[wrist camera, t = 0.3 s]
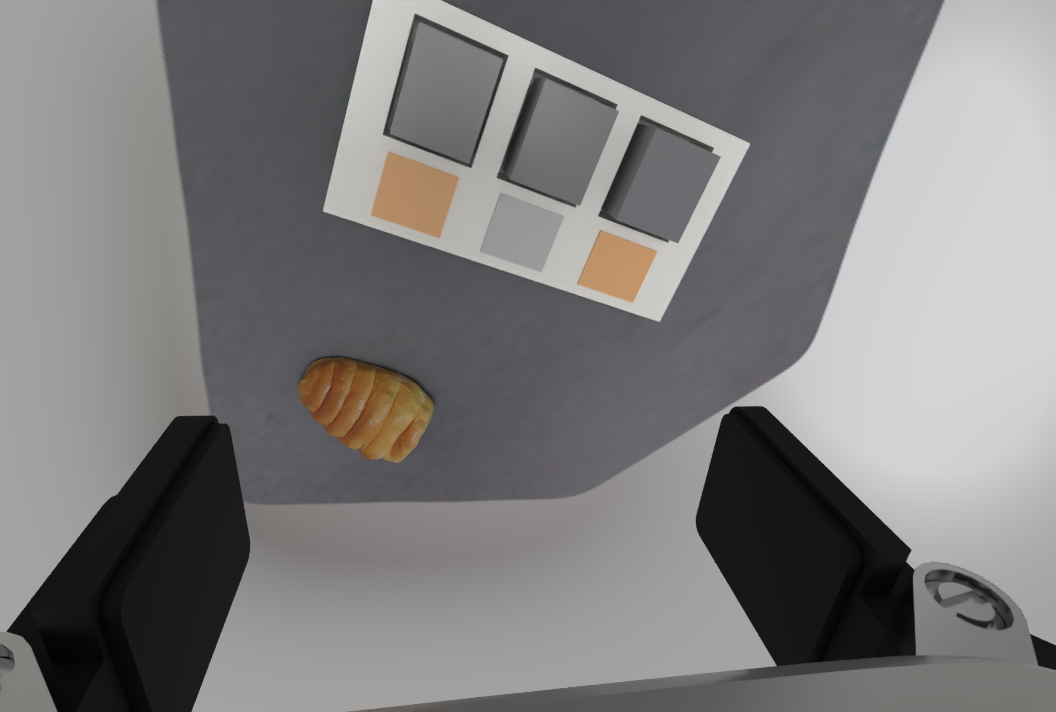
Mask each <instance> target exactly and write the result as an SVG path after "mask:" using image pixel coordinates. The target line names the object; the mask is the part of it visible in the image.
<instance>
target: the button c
mask: <svg viewBox="0 0 1056 712" xmlns="http://www.w3.org/2000/svg"><path fill="white" fill-rule="evenodd" d="M720 158H721V156H718V155H716V154H714V153H712V152H709V151H707V150H705V149H703V148H701V147H698V146H696V145H694V144H692V143H689V142H687V141H685V140H683V139H680V138H678V137H676V136H674V135H671V134H669V133H667V132H665V131H662V130H660V129H658V128H655V127H651V126H647V125H642V124H637V126H636V128H635V131H634V133H633V135H632V138H631V140H630V142H629V145H628V147H627V149H626V152H625V154H624V156H623V159H622V161H621V163H620V166H619V168H618V170H617V173H616V175H615V177H614V180H613V182H612V184H611V187H610V189H609V191H608V194H607V196H606V198H605V201H604V203H603V205H602V209H603V210H604V211H605V212H607V213H608V214H609V215H611V216H612V217H613V218H614V219H616V220H618V221H620V222H623V223H626V224H628V225H631V226H633V227H636V228H639V229H641V230H644V231H647V232H649V233H652V234H654V235H657V236H660V237H662V238H665V239H668V240H670V241H673V242H675V243H679V241H680V239H681V237H682V235H683V233H684V231H685V229H686V227H687V225H688V223H689V221H690V219H691V216H692V214H693V212H694V210H695V208H696V206H697V204H698V202H699V200H700V198H701V196H702V194H703V192H704V190H705V188H706V186H707V184H708V182H709V180H710V178H711V176H712V174H713V172H714V170H715V168H716V166H717V164H718V162H719V160H720Z"/></svg>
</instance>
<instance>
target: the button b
mask: <svg viewBox="0 0 1056 712" xmlns="http://www.w3.org/2000/svg"><path fill="white" fill-rule="evenodd" d="M618 113H619V111H618V110H615V109H613V108H611V107H609V106H606V105H604V104H602V103H600V102H597V101H595V100H593V99H591V98H588V97H586V96H584V95H582V94H579V93H577V92H575V91H573V90H570V89H568V88H566V87H564V86H562V85H559V84H557V83H555V82H553V81H550V80H548V79H543V78H534V81H533V84H532V86H531V89H530V92H529V95H528V98H527V101H526V103H525V106H524V109H523V112H522V115H521V118H520V120H519V123H518V126H517V129H516V132H515V135H514V138H513V140H512V143H511V146H510V149H509V152H508V155H507V157H506V160H505V163H504V166H503V169H502V170H503V171H504V172H505V174H506V175H507V176H508V178H509V179H510V180H513V181H515V182H518V183H520V184H523V185H526V186H528V187H531V188H534V189H536V190H539V191H541V192H544V193H547V194H549V195H552V196H555V197H557V198H560V199H562V200H565V201H568V202H570V203H573V204H576V205H578V206H580V205H581V202H582V200H583V198H584V195H585V193H586V190H587V188H588V186H589V183H590V181H591V178H592V176H593V173H594V171H595V169H596V166H597V164H598V161H599V159H600V157H601V154H602V152H603V149H604V147H605V144H606V142H607V140H608V137H609V135H610V132H611V130H612V128H613V125H614V123H615V120H616V118H617V115H618Z"/></svg>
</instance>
